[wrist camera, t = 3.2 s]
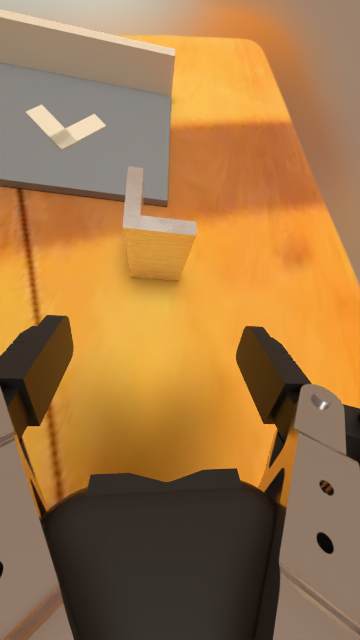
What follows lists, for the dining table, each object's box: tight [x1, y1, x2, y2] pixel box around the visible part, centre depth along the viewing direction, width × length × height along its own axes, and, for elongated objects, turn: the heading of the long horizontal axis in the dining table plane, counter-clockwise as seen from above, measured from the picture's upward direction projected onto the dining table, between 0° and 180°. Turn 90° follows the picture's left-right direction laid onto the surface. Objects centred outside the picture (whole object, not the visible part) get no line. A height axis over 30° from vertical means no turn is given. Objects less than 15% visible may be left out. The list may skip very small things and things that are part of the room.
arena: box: [0, 9, 175, 207], centre depth 26 cm, size 24×18×5 cm
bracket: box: [123, 166, 196, 281], centre depth 22 cm, size 6×6×9 cm
